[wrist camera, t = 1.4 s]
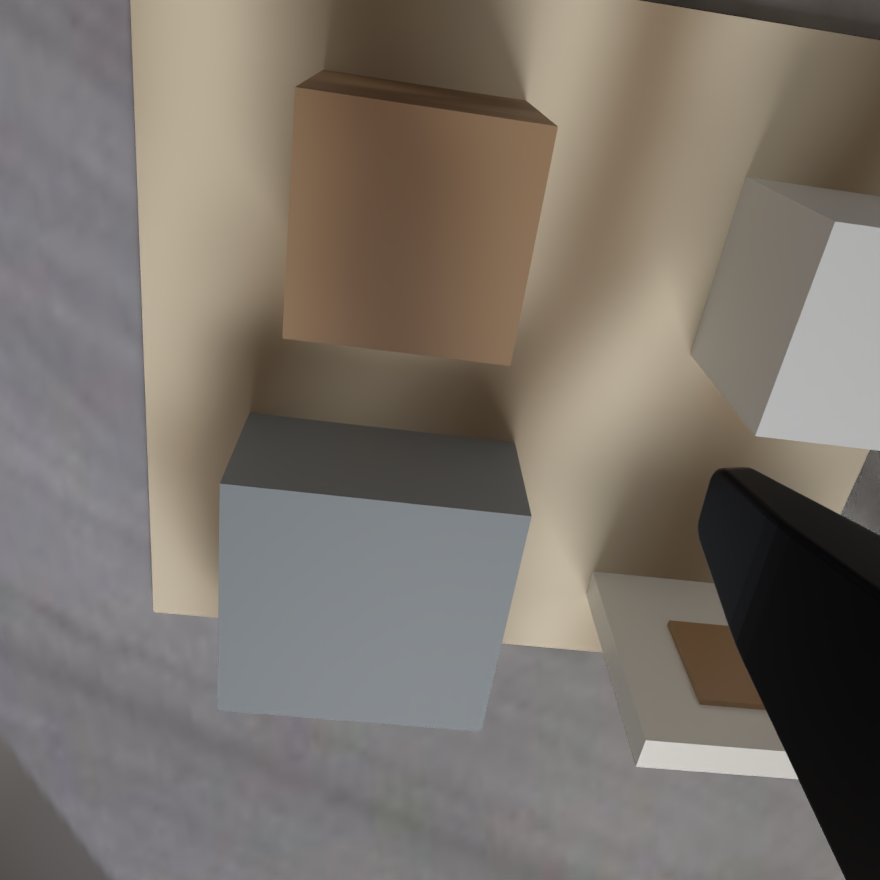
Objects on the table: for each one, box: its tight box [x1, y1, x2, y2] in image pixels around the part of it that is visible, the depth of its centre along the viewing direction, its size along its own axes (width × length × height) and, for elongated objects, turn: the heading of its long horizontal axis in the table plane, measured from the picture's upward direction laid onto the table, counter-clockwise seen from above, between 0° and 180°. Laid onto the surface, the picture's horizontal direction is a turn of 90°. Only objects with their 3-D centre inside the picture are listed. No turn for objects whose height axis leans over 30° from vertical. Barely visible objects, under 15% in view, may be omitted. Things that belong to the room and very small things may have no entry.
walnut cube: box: [282, 70, 558, 366], centre depth 18 cm, size 5×5×5 cm
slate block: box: [217, 413, 532, 732], centre depth 24 cm, size 8×8×4 cm
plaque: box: [586, 571, 798, 779], centre depth 24 cm, size 7×1×7 cm, turn 82°
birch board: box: [130, 0, 880, 652], centre depth 23 cm, size 22×20×1 cm
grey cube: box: [690, 177, 880, 451], centre depth 20 cm, size 5×5×5 cm
